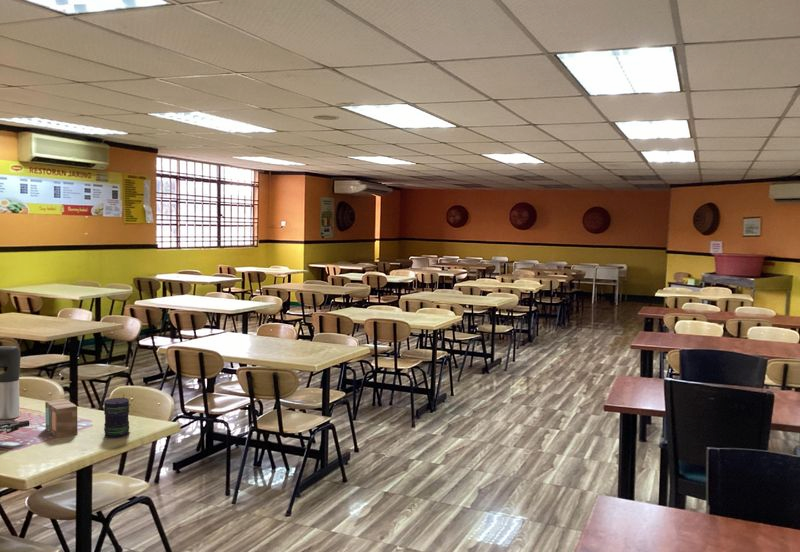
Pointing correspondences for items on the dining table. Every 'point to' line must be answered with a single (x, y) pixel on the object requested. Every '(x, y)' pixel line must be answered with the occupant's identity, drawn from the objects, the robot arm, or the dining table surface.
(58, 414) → the walnut console
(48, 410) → the grey-green piece
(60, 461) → the dining table surface
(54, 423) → the terracotta button
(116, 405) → the dark blue barrel
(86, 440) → the dining table surface
